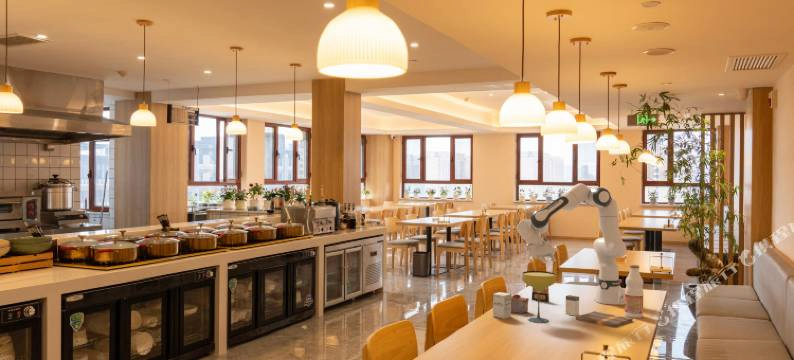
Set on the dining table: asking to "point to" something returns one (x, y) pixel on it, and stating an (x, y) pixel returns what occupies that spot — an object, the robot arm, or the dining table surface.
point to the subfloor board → (604, 319)
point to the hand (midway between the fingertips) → (550, 261)
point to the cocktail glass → (539, 286)
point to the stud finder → (572, 305)
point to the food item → (519, 304)
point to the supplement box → (501, 305)
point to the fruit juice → (634, 293)
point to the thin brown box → (541, 295)
